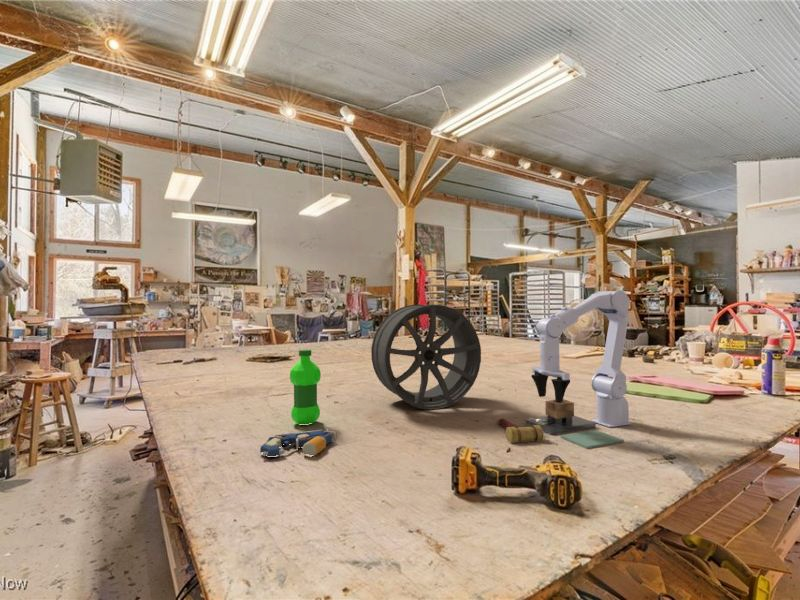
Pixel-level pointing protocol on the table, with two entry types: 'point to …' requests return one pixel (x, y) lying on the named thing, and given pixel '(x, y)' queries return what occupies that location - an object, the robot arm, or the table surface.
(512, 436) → the gavel
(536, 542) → the table surface
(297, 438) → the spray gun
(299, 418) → the plastic bottle
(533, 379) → the robot arm
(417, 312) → the car wheel rim
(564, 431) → the vise
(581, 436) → the mat
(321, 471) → the table surface
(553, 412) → the sleeve block
